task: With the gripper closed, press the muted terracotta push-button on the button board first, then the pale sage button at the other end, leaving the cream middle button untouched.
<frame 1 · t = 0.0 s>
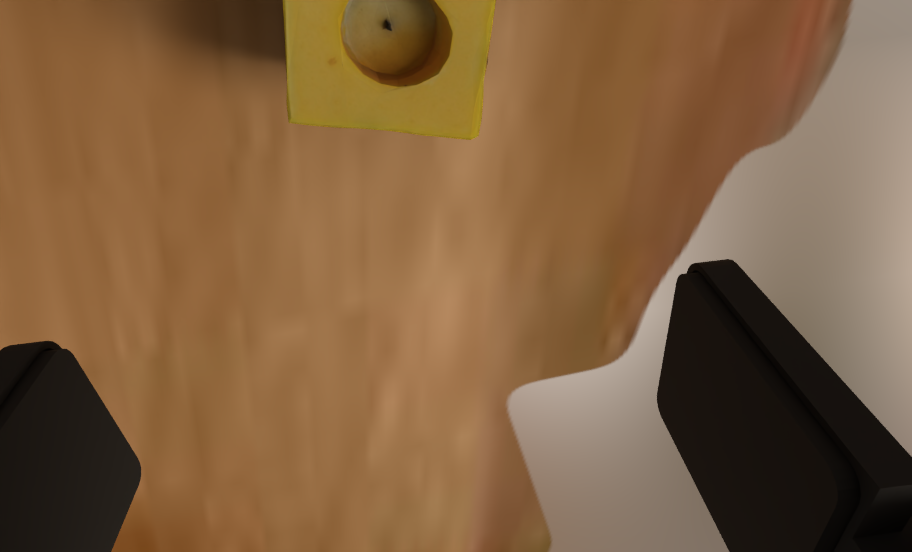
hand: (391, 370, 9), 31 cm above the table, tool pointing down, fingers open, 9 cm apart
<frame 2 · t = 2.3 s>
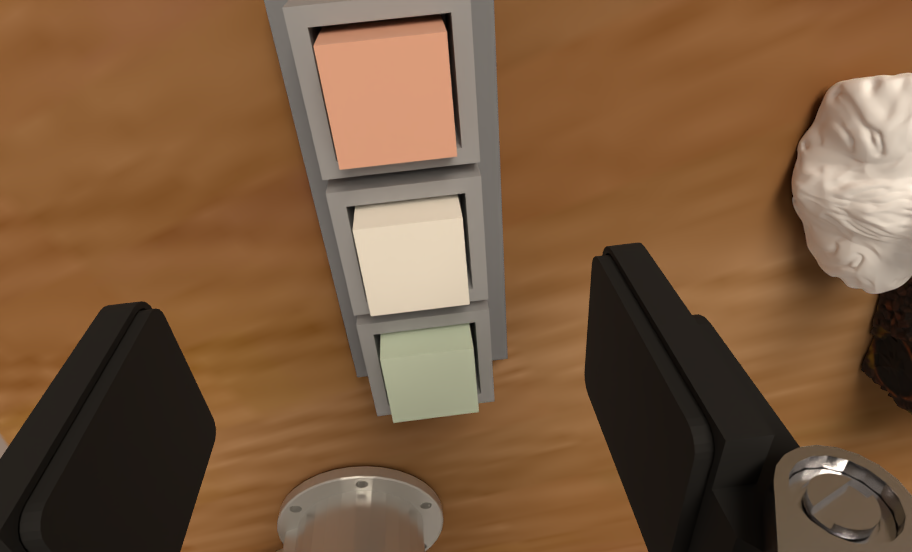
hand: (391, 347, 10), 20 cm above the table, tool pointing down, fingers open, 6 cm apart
sage button: (429, 365, 29), point 5 cm above the table, slide at 0.0 cm
bust: (844, 157, 31), on the table
terracotta button: (390, 91, 21), point 5 cm above the table, slide at 0.0 cm
button board: (409, 194, 30), on the table
cream button: (413, 249, 25), point 5 cm above the table, slide at 0.0 cm
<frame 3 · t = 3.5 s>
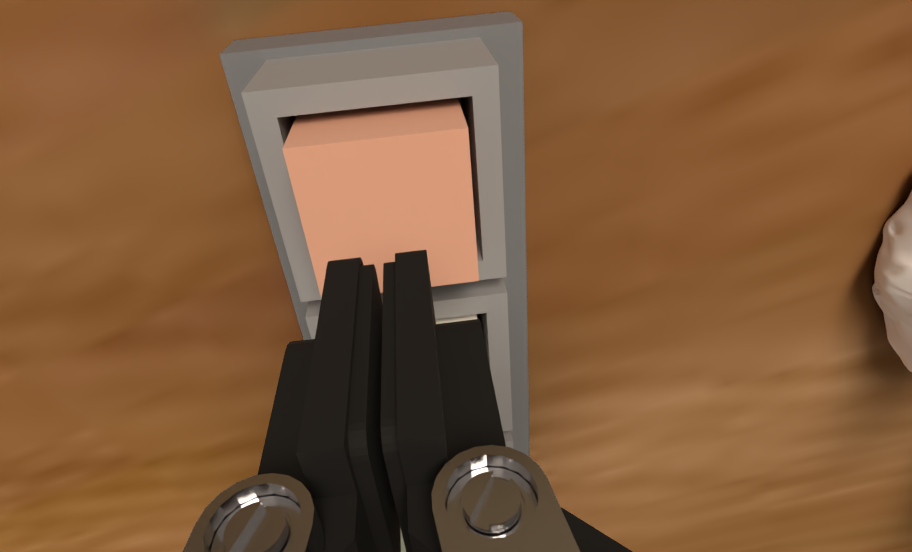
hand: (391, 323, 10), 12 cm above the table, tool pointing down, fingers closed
sage button: (438, 501, 24), point 5 cm above the table, slide at 0.0 cm
terracotta button: (389, 194, 16), point 5 cm above the table, slide at 0.0 cm
button board: (413, 289, 24), on the table
cream button: (418, 378, 20), point 5 cm above the table, slide at 0.0 cm
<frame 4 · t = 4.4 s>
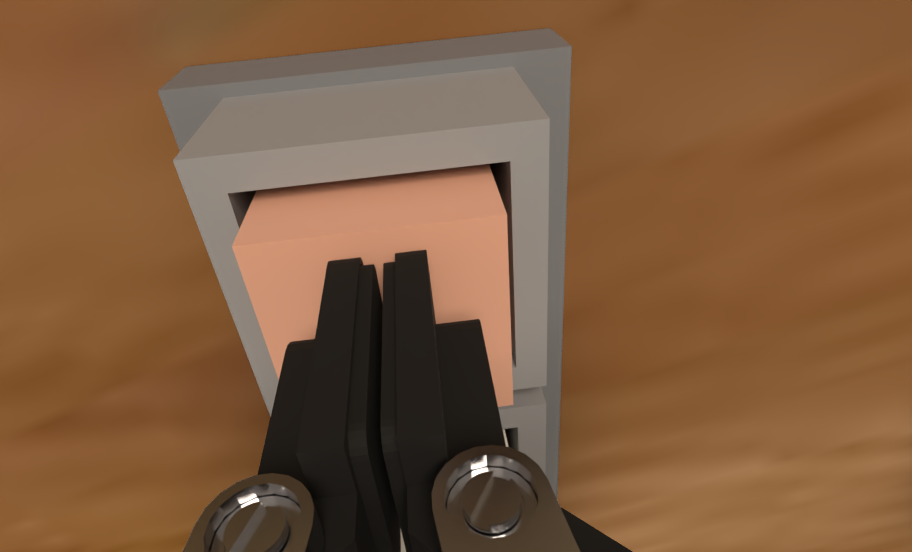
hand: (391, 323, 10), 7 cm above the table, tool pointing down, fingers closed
terracotta button: (390, 286, 12), point 5 cm above the table, slide at 0.1 cm, touching gripper
button board: (419, 362, 20), on the table
cream button: (427, 500, 16), point 5 cm above the table, slide at 0.0 cm
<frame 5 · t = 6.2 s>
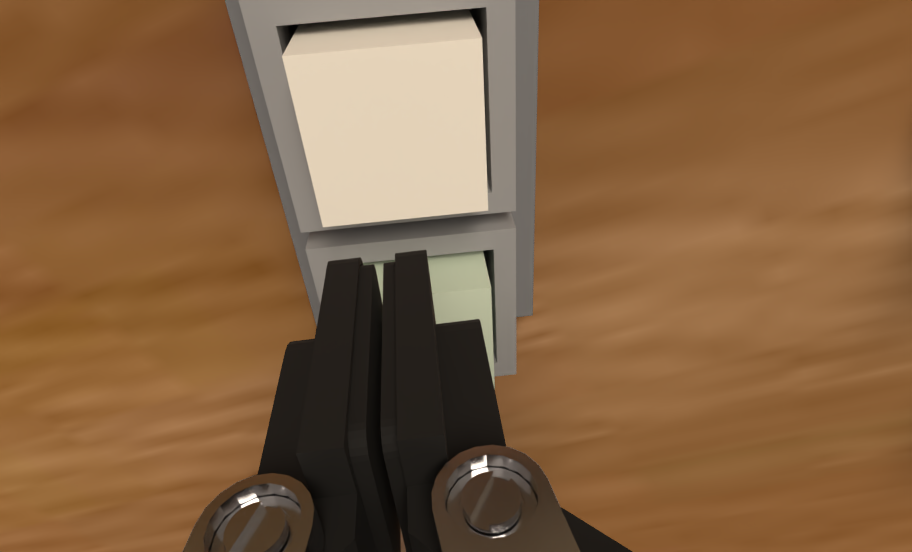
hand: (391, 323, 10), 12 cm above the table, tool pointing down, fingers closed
sage button: (421, 317, 19), point 5 cm above the table, slide at 0.0 cm
button board: (394, 57, 20), on the table
cream button: (395, 117, 15), point 5 cm above the table, slide at 0.0 cm
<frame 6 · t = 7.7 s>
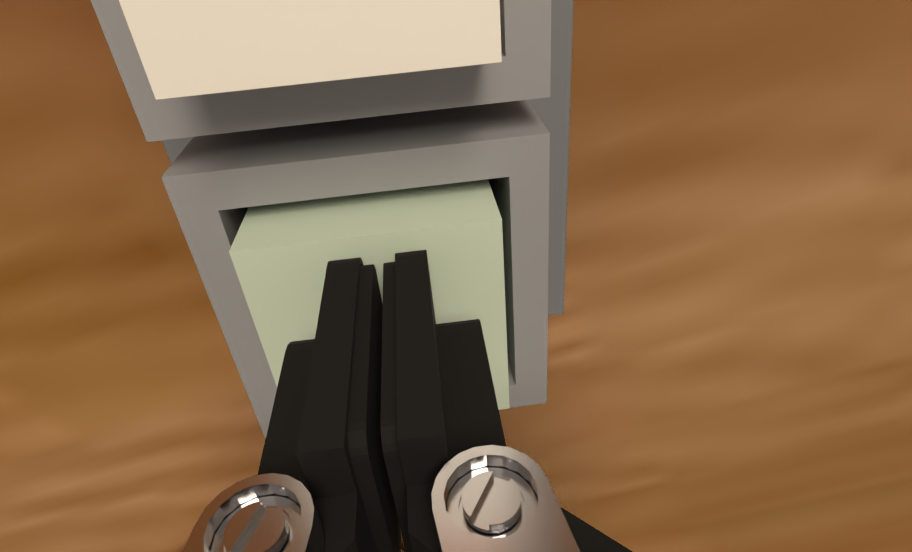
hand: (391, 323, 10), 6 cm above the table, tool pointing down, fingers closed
sage button: (386, 291, 12), point 5 cm above the table, slide at 0.6 cm, touching gripper
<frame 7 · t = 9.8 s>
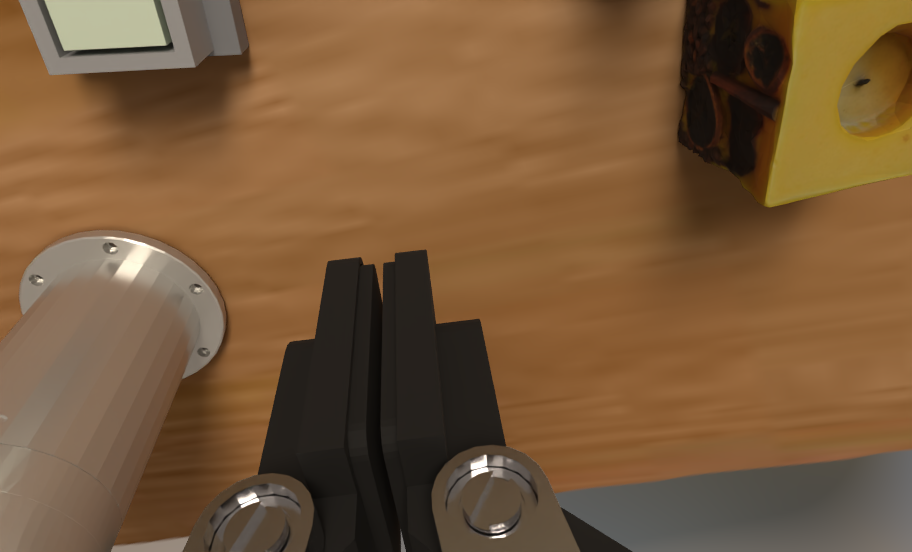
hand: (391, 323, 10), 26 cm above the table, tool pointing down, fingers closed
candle: (761, 45, 34), on the table
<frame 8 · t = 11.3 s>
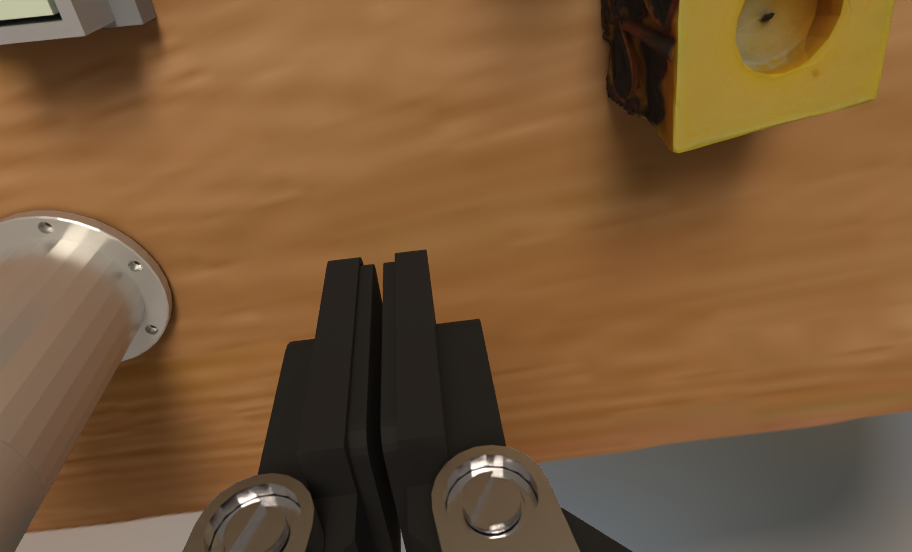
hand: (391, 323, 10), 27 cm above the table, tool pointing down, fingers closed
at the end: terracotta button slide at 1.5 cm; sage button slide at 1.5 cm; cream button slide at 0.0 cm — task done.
